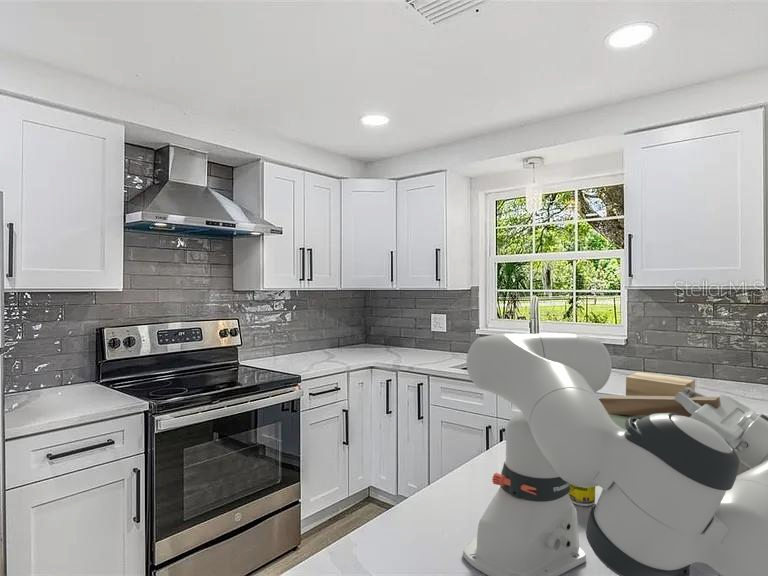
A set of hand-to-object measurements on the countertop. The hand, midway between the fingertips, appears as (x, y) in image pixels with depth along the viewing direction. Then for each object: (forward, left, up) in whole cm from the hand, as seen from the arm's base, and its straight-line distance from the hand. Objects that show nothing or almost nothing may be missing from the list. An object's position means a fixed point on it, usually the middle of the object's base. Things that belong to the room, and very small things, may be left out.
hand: (680, 392), depth 101 cm
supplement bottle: (-7, +17, -26) cm, 32 cm away
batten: (0, +4, -5) cm, 7 cm away
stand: (+11, +7, -26) cm, 29 cm away
